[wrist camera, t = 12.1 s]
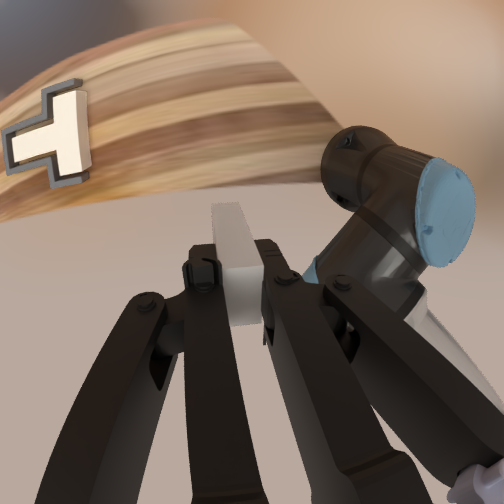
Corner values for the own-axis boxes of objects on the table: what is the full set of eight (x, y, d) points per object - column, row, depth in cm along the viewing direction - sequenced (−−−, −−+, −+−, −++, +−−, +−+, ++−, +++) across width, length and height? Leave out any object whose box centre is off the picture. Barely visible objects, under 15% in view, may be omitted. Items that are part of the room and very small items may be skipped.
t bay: (82, 79, 28) (73, 78, 25) (89, 177, 36) (81, 182, 33) (10, 106, 25) (0, 107, 23) (20, 192, 33) (11, 198, 31)
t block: (86, 91, 29) (75, 90, 26) (91, 165, 35) (82, 171, 31) (23, 112, 27) (10, 114, 23) (30, 179, 33) (18, 186, 29)
